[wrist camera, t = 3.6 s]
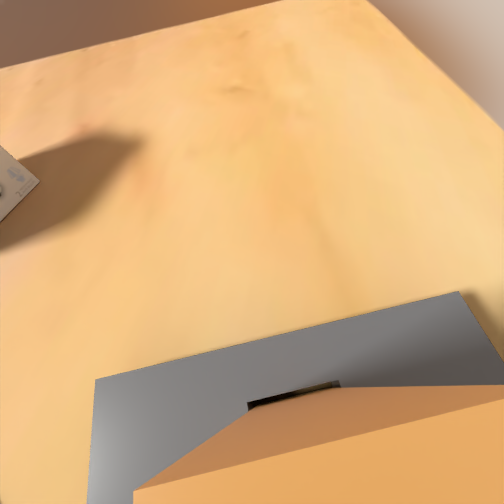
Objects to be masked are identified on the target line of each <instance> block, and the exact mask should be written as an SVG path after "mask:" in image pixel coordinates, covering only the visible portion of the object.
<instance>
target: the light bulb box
mask: <svg viewBox="0 0 504 504" xmlns="http://www.w3.org/2000/svg"><path fill="white" fill-rule="evenodd" d="M39 182H40V180H39V179H37V178H36V177H35V176H34V175H33V174H32V173H31V172H30V171H29V170H27V169H26V168H25V167H24V166H23V165H22V164H21V163H19V162H18V161H17V160H16V159H15V158H14V157H13V156H12V155H10V154H9V153H8V152H7V151H6V150H5V149H4V148H3V147H1V146H0V221H1V220H2V219H3V218H4V217H5V216H6V215H7V214H8V213H9V212H10V211H11V210H12V209H13V208H14V207H15V206H16V205H17V204H18V203H19V202H20V201H21V200H22V199H23V198H24V197H25V196H26V195H27V194H28V193H29V192H30V191H31V190H32V189H33V188H34V187H35V186H36V185H37V184H38V183H39Z"/></svg>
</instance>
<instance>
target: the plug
mask: <svg viewBox="0 0 504 504" xmlns="http://www.w3.org/2000/svg"><path fill="white" fill-rule="evenodd" d="M133 504H504V385H466V386H408V387H350V388H324V389H320V390H316V391H312V392H308V393H304V394H300V395H296V396H292V397H288V398H284V399H280V400H276V401H272V402H268V403H263V404H259V405H257V406H256V407H254V408H253V409H251V410H250V411H248V412H247V413H246V414H244V415H243V416H241V417H240V418H238V419H237V420H235V421H234V422H233V423H231V424H230V425H228V426H227V427H225V428H224V429H222V430H221V431H220V432H218V433H217V434H215V435H214V436H212V437H211V438H209V439H208V440H207V441H205V442H204V443H202V444H201V445H199V446H198V447H196V448H195V449H194V450H192V451H191V452H189V453H188V454H186V455H185V456H183V457H182V458H180V459H179V460H178V461H176V462H175V463H173V464H172V465H170V466H169V467H167V468H166V469H165V470H163V471H162V472H160V473H159V474H157V475H156V476H154V477H153V478H152V479H150V480H149V481H147V482H146V483H144V484H143V485H141V486H140V487H139V488H137V489H136V490H134V491H133Z"/></svg>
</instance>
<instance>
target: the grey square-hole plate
mask: <svg viewBox="0 0 504 504" xmlns="http://www.w3.org/2000/svg"><path fill="white" fill-rule="evenodd" d="M327 382H331V385H332V388H350V387H408V386H466V385H504V362H503V361H502V359H501V358H500V356H499V354H498V353H497V351H496V350H495V348H494V346H493V345H492V343H491V342H490V340H489V339H488V337H487V335H486V334H485V332H484V331H483V329H482V328H481V326H480V324H479V323H478V321H477V320H476V318H475V317H474V315H473V313H472V312H471V310H470V309H469V307H468V306H467V304H466V302H465V301H464V299H463V298H462V296H461V295H460V293H459V291H457V292H453V293H449V294H445V295H441V296H437V297H433V298H429V299H424V300H420V301H416V302H412V303H408V304H404V305H400V306H396V307H392V308H387V309H383V310H379V311H375V312H371V313H367V314H363V315H359V316H355V317H351V318H346V319H342V320H338V321H334V322H330V323H326V324H322V325H318V326H314V327H309V328H305V329H301V330H297V331H293V332H289V333H285V334H281V335H277V336H272V337H268V338H264V339H260V340H256V341H252V342H248V343H244V344H240V345H235V346H231V347H227V348H223V349H219V350H215V351H211V352H207V353H203V354H199V355H194V356H190V357H186V358H182V359H178V360H174V361H170V362H166V363H162V364H157V365H153V366H149V367H145V368H141V369H137V370H133V371H129V372H125V373H120V374H116V375H112V376H108V377H104V378H100V379H96V380H95V393H94V407H93V421H92V435H91V449H90V463H89V477H88V491H87V504H133V491H134V490H136V489H137V488H139V487H140V486H141V485H143V484H144V483H146V482H147V481H149V480H150V479H152V478H153V477H154V476H156V475H157V474H159V473H160V472H162V471H163V470H165V469H166V468H167V467H169V466H170V465H172V464H173V463H175V462H176V461H178V460H179V459H180V458H182V457H183V456H185V455H186V454H188V453H189V452H191V451H192V450H194V449H195V448H196V447H198V446H199V445H201V444H202V443H204V442H205V441H207V440H208V439H209V438H211V437H212V436H214V435H215V434H217V433H218V432H220V431H221V430H222V429H224V428H225V427H227V426H228V425H230V424H231V423H233V422H234V421H235V420H237V419H238V418H240V417H241V416H243V415H244V414H246V413H247V412H248V411H250V410H251V409H253V403H252V401H254V400H258V399H262V398H266V397H271V396H275V395H279V394H283V393H287V392H291V391H295V390H299V389H303V388H307V387H311V386H315V385H319V384H323V383H327Z"/></svg>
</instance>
